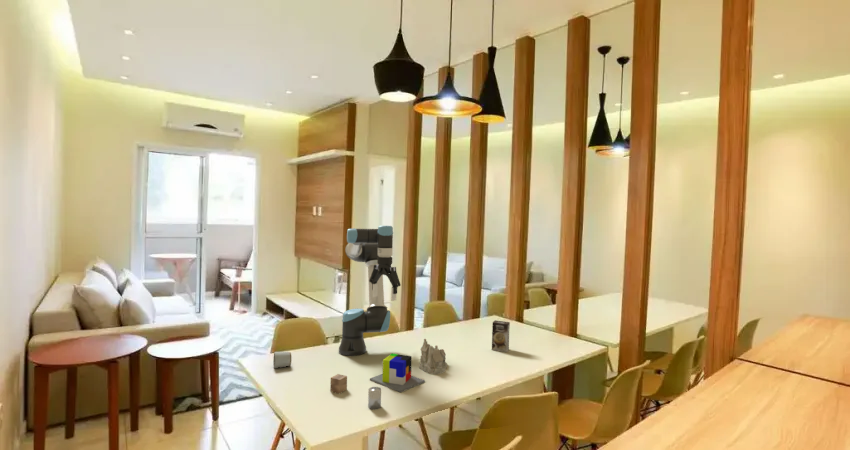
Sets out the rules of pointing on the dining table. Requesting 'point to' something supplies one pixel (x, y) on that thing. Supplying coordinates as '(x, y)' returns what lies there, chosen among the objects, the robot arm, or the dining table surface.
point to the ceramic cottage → (432, 359)
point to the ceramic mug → (282, 359)
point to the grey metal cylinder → (374, 398)
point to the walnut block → (338, 383)
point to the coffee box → (500, 336)
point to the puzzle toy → (396, 369)
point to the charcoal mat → (400, 388)
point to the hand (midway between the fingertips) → (384, 298)
